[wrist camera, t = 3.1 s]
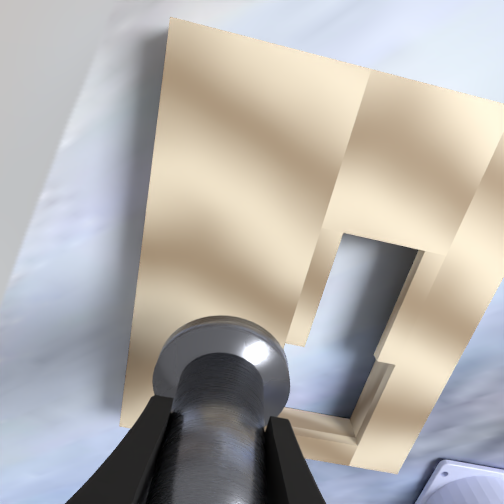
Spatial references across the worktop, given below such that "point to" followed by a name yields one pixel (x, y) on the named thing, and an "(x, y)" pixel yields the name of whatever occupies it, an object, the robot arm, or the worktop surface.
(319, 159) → the keyhole board
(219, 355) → the peg
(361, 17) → the worktop surface
